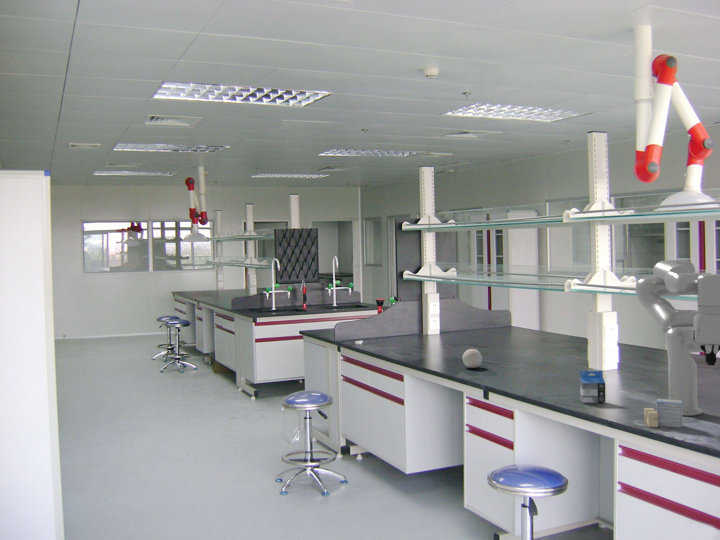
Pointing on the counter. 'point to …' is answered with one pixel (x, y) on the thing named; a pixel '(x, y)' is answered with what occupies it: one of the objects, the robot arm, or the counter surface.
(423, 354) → the counter surface
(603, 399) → the blue and grey box
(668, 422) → the medicine box
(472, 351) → the grey felt ball
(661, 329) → the robot arm
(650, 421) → the bench stop
